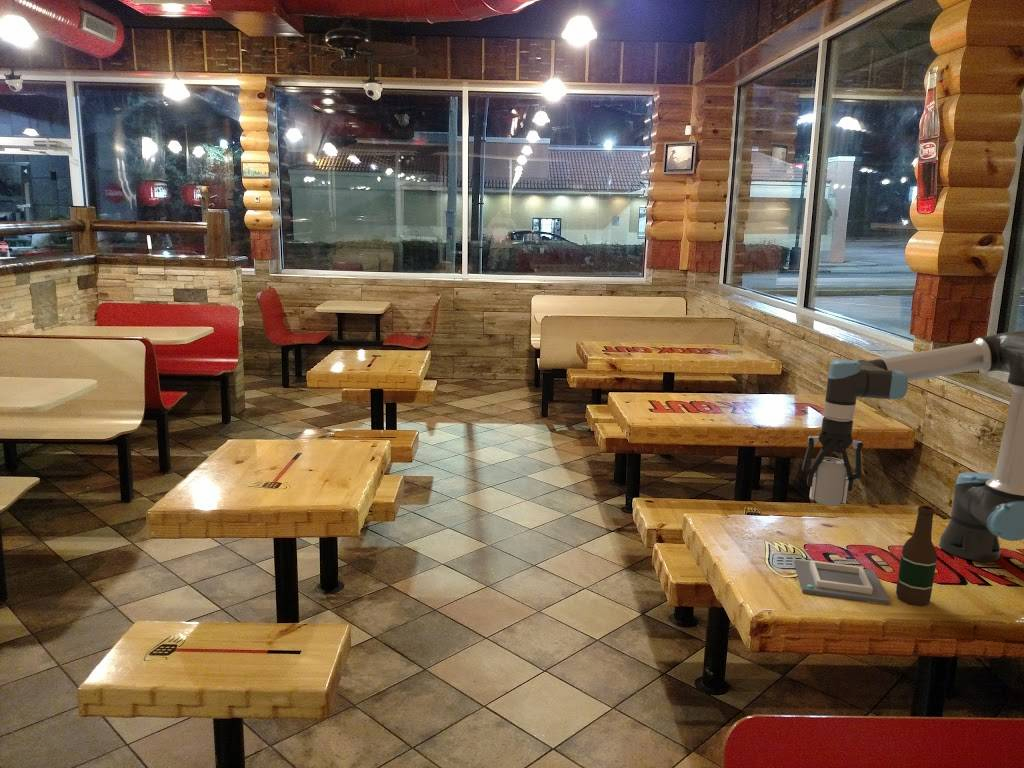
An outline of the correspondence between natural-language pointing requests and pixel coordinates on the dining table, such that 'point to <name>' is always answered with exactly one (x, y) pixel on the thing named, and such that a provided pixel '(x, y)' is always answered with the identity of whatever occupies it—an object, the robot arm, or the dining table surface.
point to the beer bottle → (918, 562)
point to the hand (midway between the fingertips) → (827, 499)
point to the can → (830, 481)
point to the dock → (840, 581)
